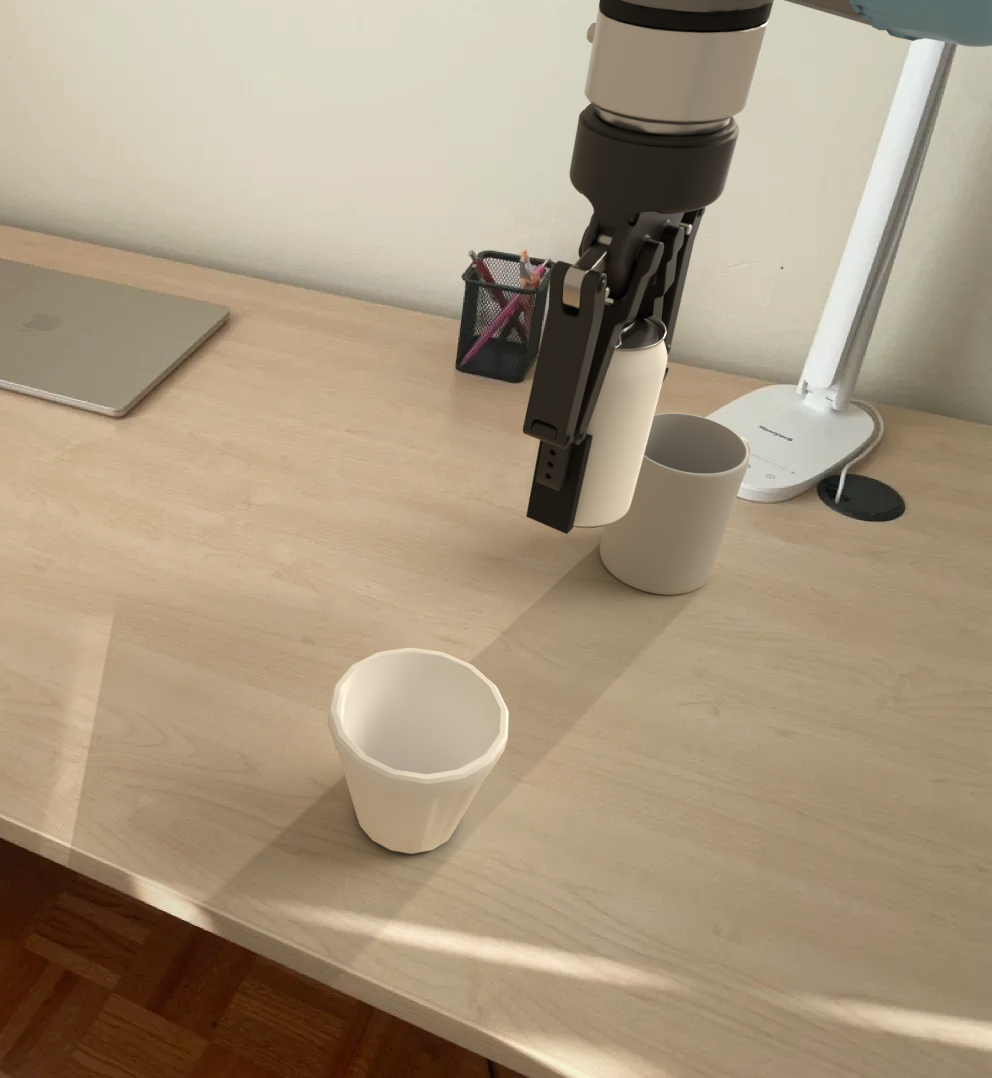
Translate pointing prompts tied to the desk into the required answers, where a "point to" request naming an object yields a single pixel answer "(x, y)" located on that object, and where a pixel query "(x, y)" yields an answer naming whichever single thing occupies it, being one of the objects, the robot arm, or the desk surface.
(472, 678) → the cup
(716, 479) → the mug
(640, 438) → the can
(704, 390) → the desk surface
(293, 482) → the desk surface
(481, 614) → the desk surface
